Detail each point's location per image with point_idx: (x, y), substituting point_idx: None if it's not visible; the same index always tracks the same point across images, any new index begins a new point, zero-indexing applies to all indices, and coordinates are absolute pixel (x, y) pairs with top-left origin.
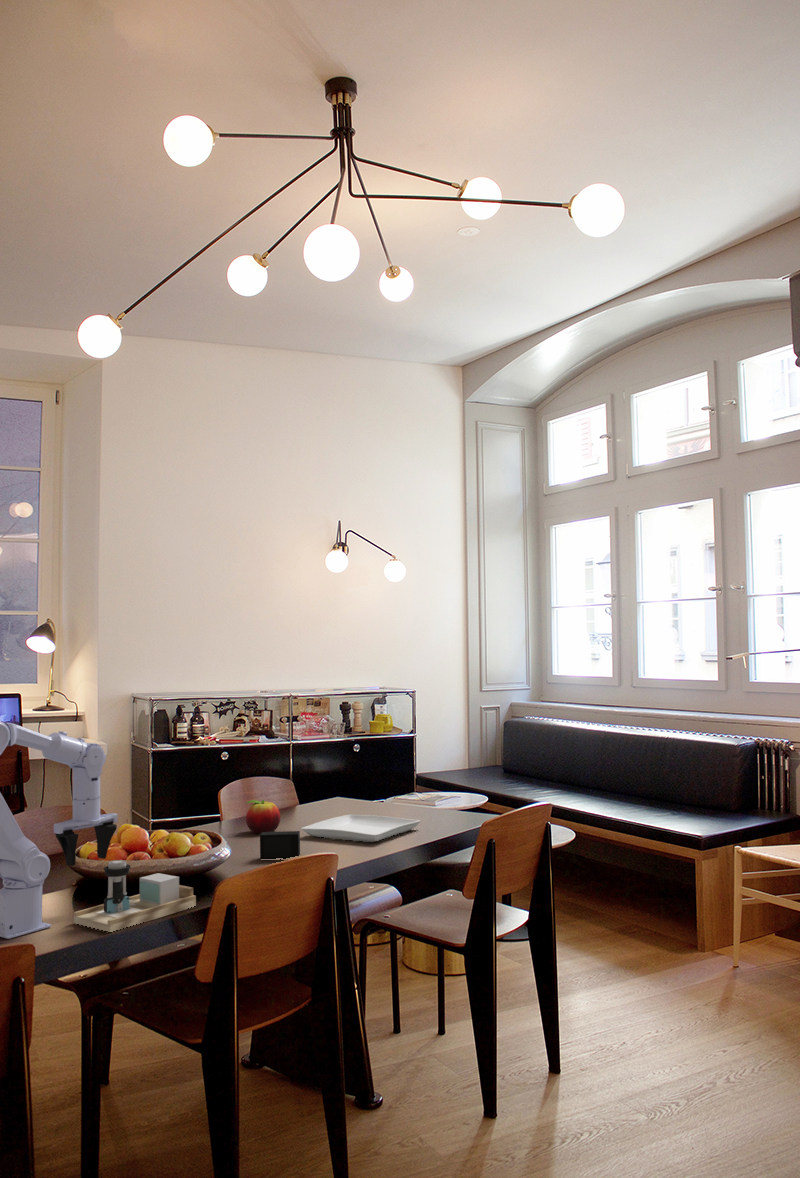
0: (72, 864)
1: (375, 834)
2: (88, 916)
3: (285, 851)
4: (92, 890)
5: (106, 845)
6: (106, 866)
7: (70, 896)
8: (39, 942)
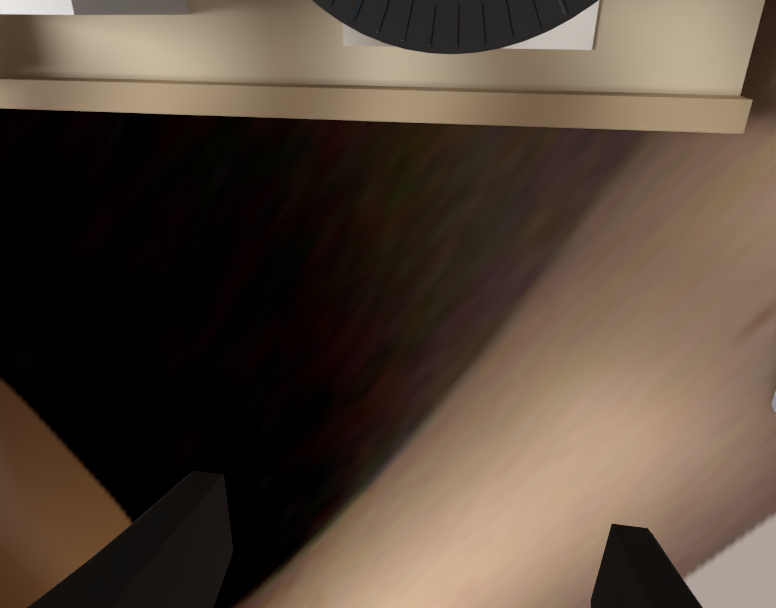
0: (655, 540)
1: None
2: (701, 1)
3: None
4: None
5: (111, 583)
6: (528, 24)
7: (310, 559)
8: None
